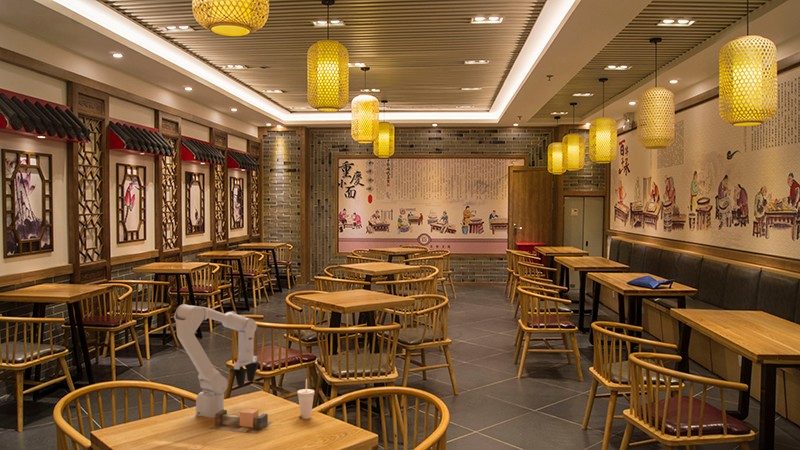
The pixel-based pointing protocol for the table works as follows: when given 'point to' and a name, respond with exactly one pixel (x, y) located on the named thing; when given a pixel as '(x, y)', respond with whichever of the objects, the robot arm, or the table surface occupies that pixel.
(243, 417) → the sleeve
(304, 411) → the smoothie
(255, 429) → the rail board
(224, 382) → the robot arm
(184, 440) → the table surface
